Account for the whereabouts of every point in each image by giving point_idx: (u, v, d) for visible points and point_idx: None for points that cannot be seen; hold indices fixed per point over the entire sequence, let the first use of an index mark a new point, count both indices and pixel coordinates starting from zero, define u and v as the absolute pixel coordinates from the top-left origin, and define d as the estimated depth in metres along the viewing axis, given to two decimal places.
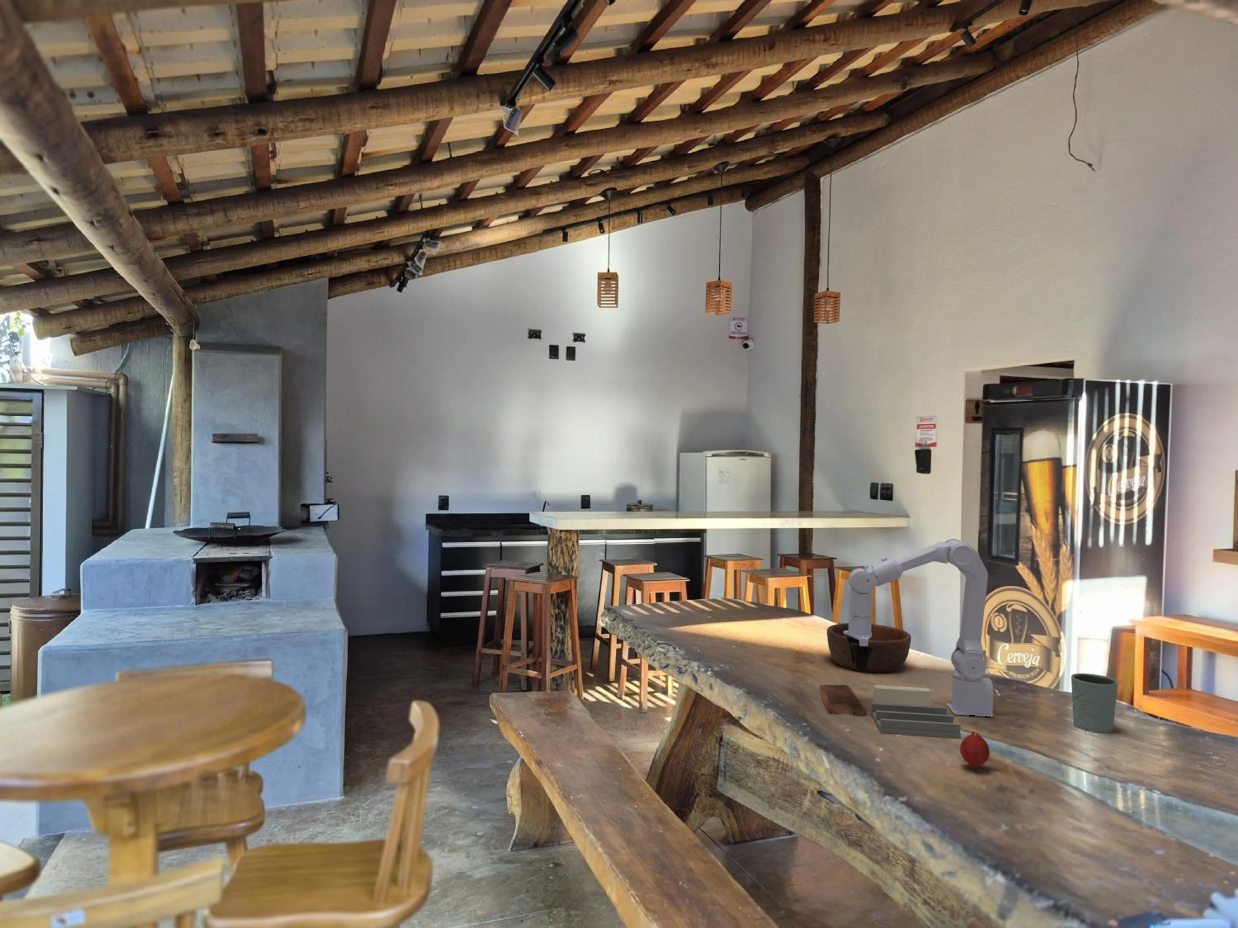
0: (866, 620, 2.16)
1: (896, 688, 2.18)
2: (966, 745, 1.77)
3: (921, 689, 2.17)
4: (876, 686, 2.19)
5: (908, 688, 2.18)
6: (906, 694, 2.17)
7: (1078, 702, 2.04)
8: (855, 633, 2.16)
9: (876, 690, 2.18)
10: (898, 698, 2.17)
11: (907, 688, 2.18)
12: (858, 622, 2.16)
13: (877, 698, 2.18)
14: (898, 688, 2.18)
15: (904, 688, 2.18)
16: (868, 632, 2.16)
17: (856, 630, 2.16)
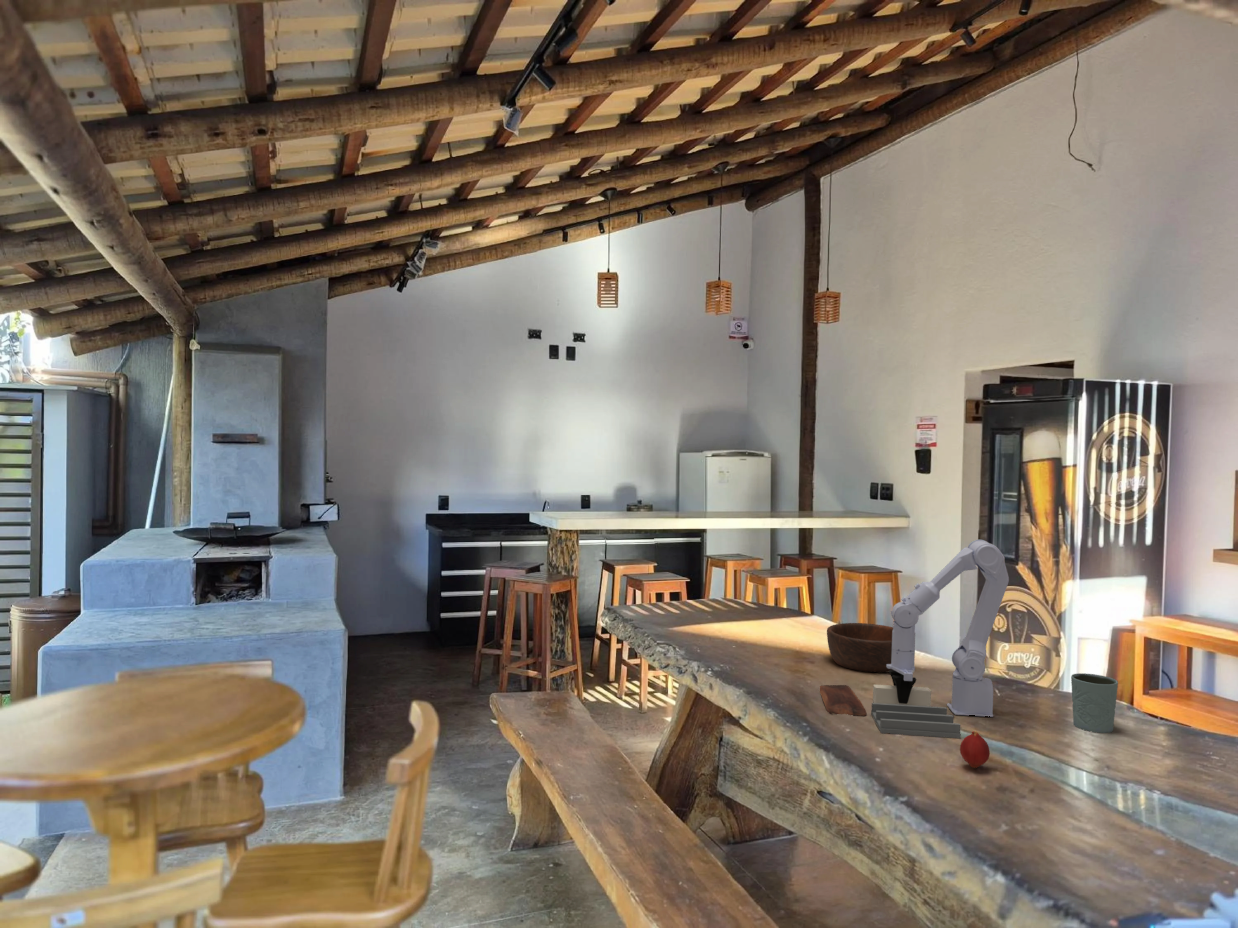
0: (910, 654, 2.15)
1: None
2: (966, 745, 1.77)
3: (921, 689, 2.17)
4: (876, 686, 2.19)
5: None
6: None
7: (1078, 702, 2.04)
8: (898, 667, 2.16)
9: (876, 690, 2.18)
10: None
11: None
12: (902, 657, 2.15)
13: (877, 698, 2.18)
14: None
15: None
16: (911, 666, 2.16)
17: (900, 664, 2.16)
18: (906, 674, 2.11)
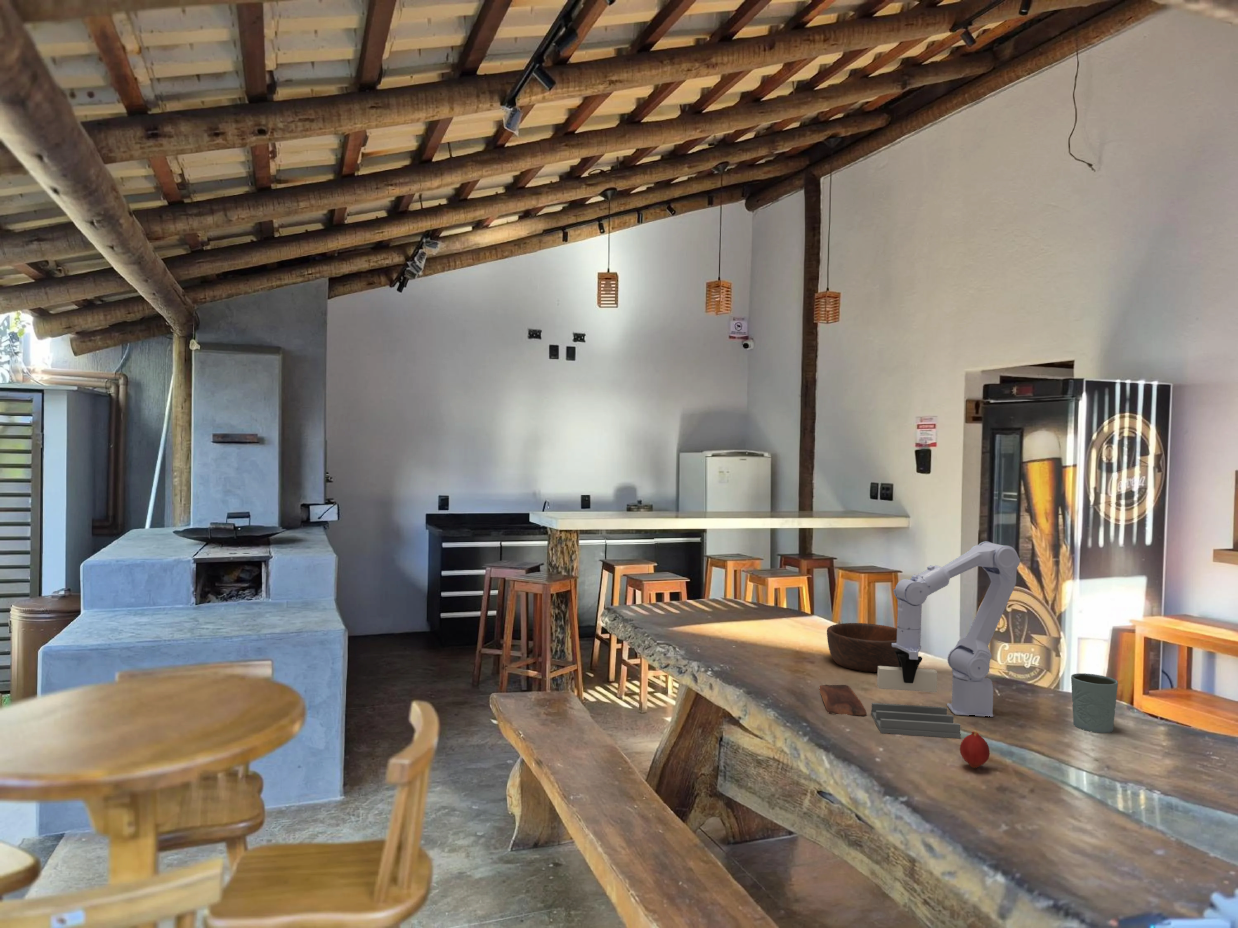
0: (915, 632, 2.09)
1: (901, 669, 2.12)
2: (966, 745, 1.77)
3: (927, 670, 2.11)
4: (880, 667, 2.13)
5: None
6: None
7: (1078, 702, 2.04)
8: (904, 646, 2.10)
9: (880, 671, 2.12)
10: None
11: None
12: (907, 635, 2.09)
13: (881, 679, 2.12)
14: None
15: None
16: (917, 645, 2.10)
17: (905, 642, 2.10)
18: (911, 652, 2.05)
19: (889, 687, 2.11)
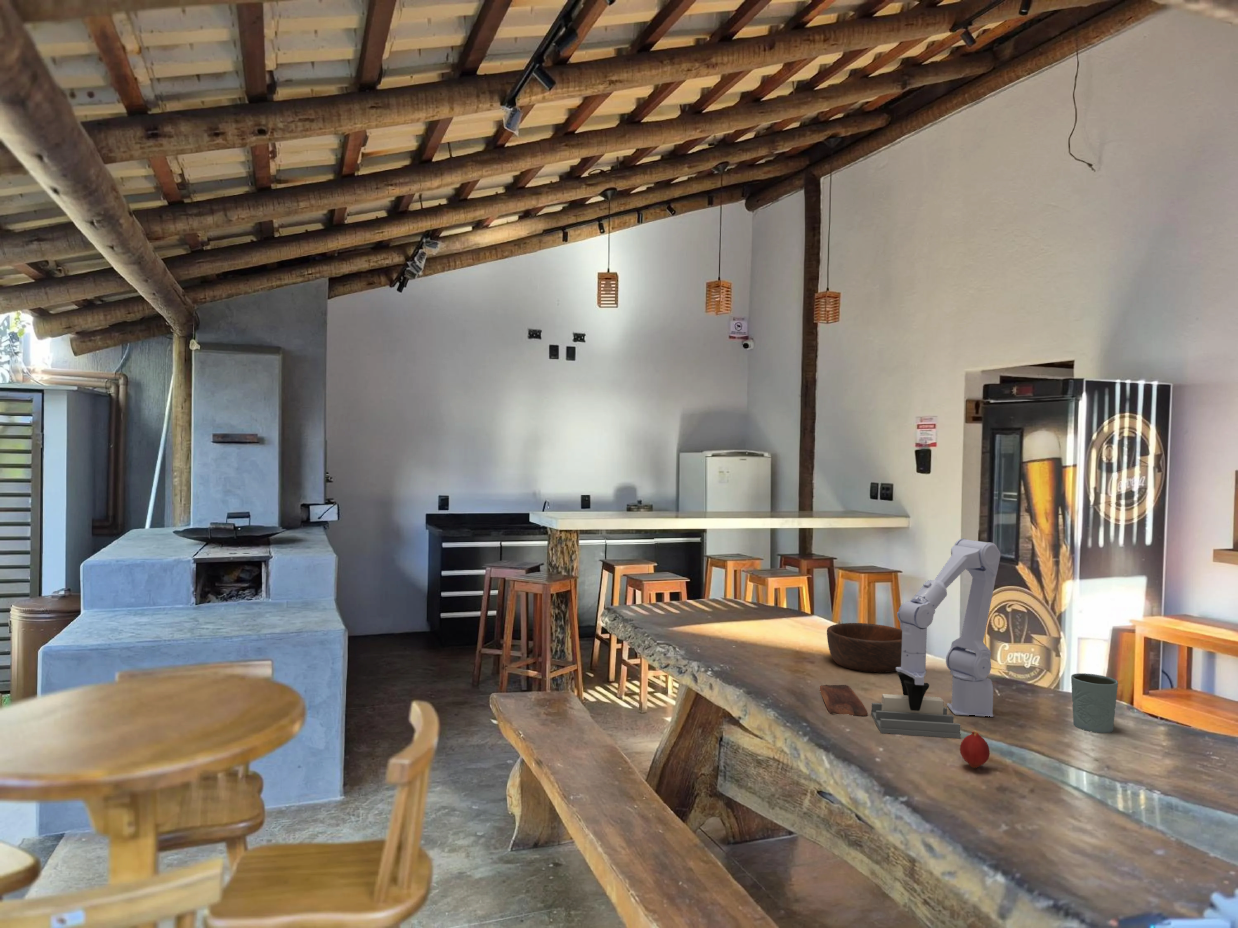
0: (921, 657, 2.03)
1: (906, 697, 2.06)
2: (966, 745, 1.77)
3: (933, 699, 2.05)
4: (885, 695, 2.07)
5: None
6: None
7: (1078, 702, 2.04)
8: (909, 670, 2.04)
9: (885, 700, 2.06)
10: (909, 708, 2.05)
11: None
12: (912, 659, 2.03)
13: (886, 708, 2.06)
14: None
15: None
16: (923, 669, 2.04)
17: (910, 667, 2.04)
18: (917, 678, 1.99)
19: None
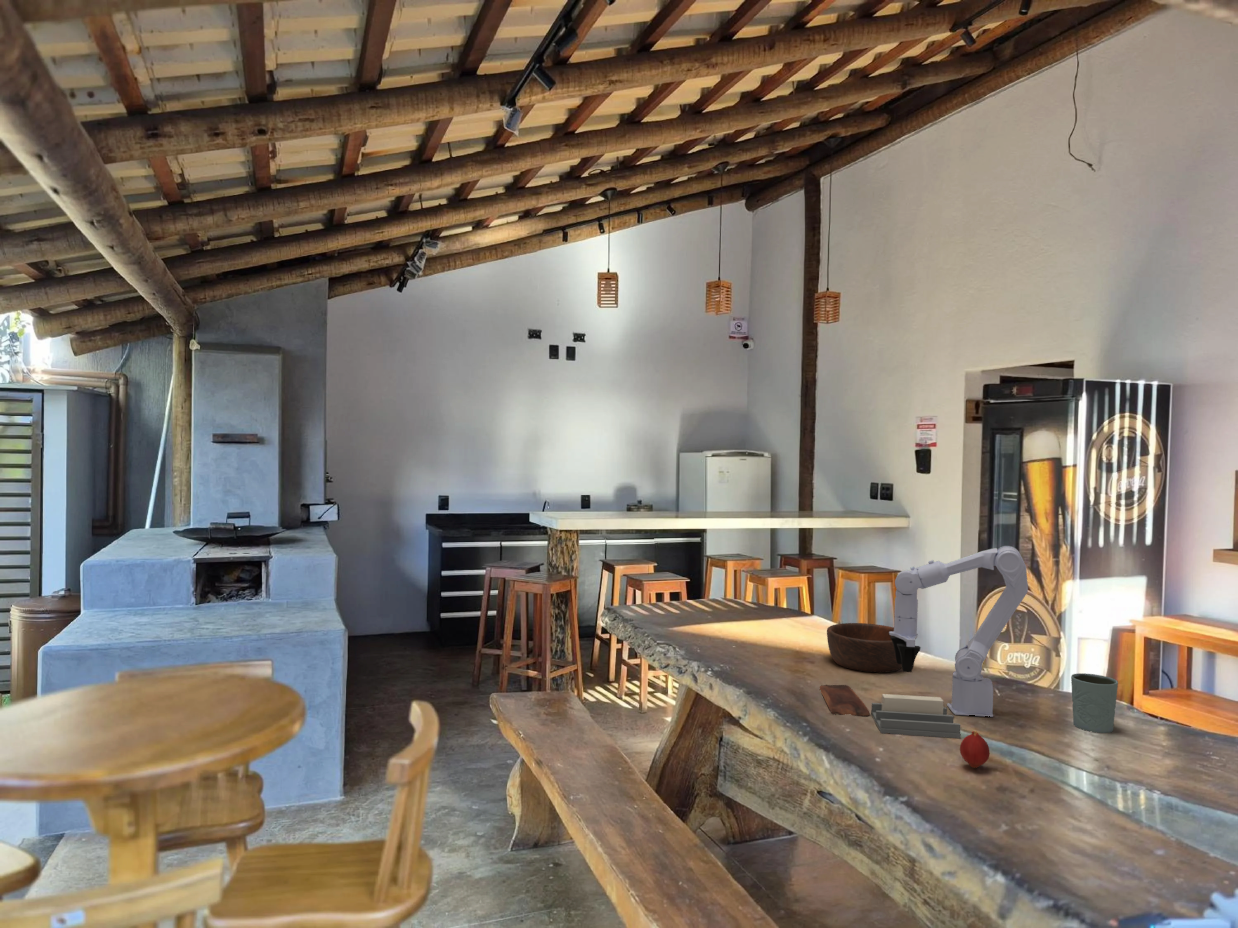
0: (912, 621, 2.18)
1: (906, 697, 2.06)
2: (966, 745, 1.77)
3: (933, 699, 2.05)
4: (885, 695, 2.07)
5: (919, 697, 2.06)
6: (917, 704, 2.05)
7: (1078, 702, 2.04)
8: (901, 634, 2.18)
9: (885, 700, 2.06)
10: (909, 708, 2.05)
11: (918, 697, 2.06)
12: (904, 623, 2.18)
13: (886, 708, 2.06)
14: (908, 697, 2.06)
15: (915, 697, 2.06)
16: (914, 633, 2.18)
17: (902, 631, 2.18)
18: (909, 640, 2.14)
19: None
